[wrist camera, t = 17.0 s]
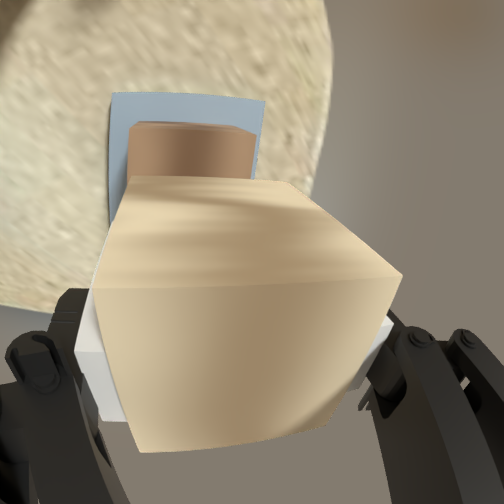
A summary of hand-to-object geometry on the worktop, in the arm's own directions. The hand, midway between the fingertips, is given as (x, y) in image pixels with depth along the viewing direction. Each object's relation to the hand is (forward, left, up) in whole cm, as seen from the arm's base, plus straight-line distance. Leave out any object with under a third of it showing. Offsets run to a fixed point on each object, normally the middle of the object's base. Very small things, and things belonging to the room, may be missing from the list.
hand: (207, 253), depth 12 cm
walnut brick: (0, 0, -15) cm, 15 cm away
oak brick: (0, 0, 0) cm, 0 cm away
